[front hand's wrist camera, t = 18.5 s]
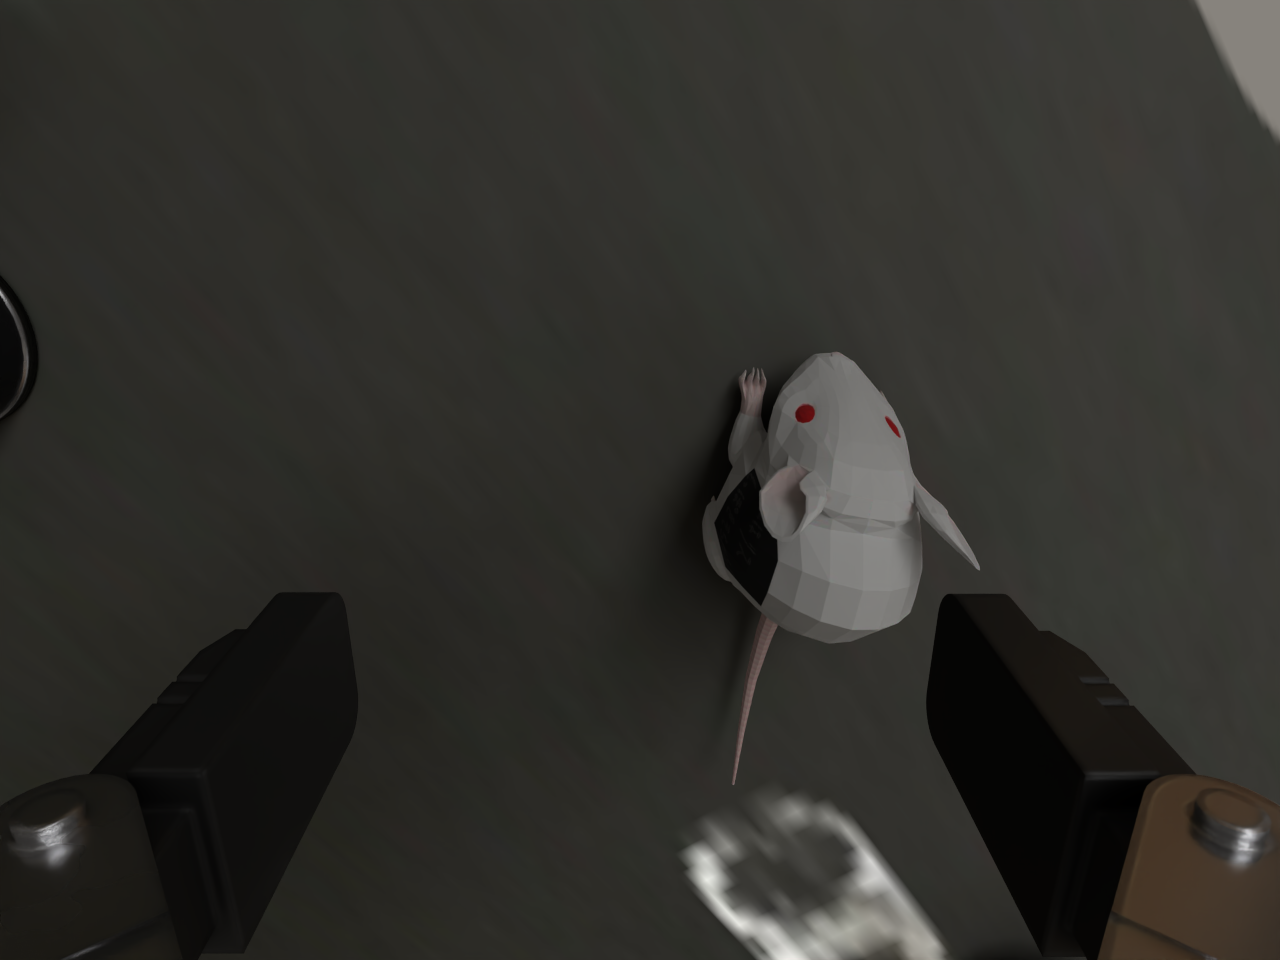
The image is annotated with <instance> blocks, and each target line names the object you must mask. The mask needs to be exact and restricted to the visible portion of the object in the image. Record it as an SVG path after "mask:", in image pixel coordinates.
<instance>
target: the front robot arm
mask: <svg viewBox="0 0 1280 960" xmlns="http://www.w3.org/2000/svg"><path fill="white" fill-rule="evenodd" d="M36 369H37V346H36V341H35V336H34V332H33V329H32V325H31V323H30V320H29V318H28V315H27V313H26V311H25V309H24V307H23V305H22V304H21V302H20V300H19V299H18V297H17V296H16V294H15V293H14V291H13V290H12V289H11V287H10V286H9V285H8V284H7V283H6V281H5V280H4V279H3V278H2V277H1V276H0V420H2V419H4V418H5V417H7V416H9V415H10V414H11V413H13V412H14V411H15V410H16V409H17V408H18V407H19V406H20V405H21V404H22V403H23V401H24V400H25V399H26V397H27V396H28V394H29V392H30V390H31V388H32V385H33V382H34V379H35V375H36ZM926 709H927V719H928V725H929V729H930V733H931V736H932V739H933V741H934V744H935V746H936V748H937V750H938V752H939V754H940V756H941V757H942V759H943V761H944V763H945V765H946V767H947V769H948V771H949V773H950V775H951V777H952V779H953V781H954V783H955V785H956V787H957V789H958V791H959V793H960V795H961V797H962V799H963V801H964V803H965V805H966V807H967V809H968V811H969V813H970V815H971V816H972V818H973V820H974V822H975V824H976V826H977V828H978V830H979V832H980V834H981V836H982V838H983V840H984V842H985V844H986V846H987V848H988V850H989V852H990V854H991V856H992V858H993V860H994V862H995V864H996V866H997V868H998V870H999V872H1000V874H1001V875H1002V877H1003V879H1004V881H1005V883H1006V885H1007V887H1008V889H1009V891H1010V893H1011V895H1012V897H1013V899H1014V901H1015V903H1016V905H1017V907H1018V909H1019V911H1020V913H1021V915H1022V917H1023V919H1024V921H1025V923H1026V925H1027V927H1028V929H1029V931H1030V933H1031V934H1032V936H1033V938H1034V940H1035V942H1036V944H1037V946H1038V948H1039V950H1040V952H1041V954H1042V956H1043V957H1086V958H1087V960H1280V806H1279V805H1277V804H1276V803H1274V802H1272V801H1271V800H1269V799H1267V798H1265V797H1264V796H1262V795H1260V794H1258V793H1255V792H1253V791H1251V790H1249V789H1247V788H1244V787H1242V786H1239V785H1237V784H1234V783H1231V782H1228V781H1224V780H1221V779H1217V778H1213V777H1208V776H1203V775H1197V774H1196V773H1195V772H1194V771H1193V770H1192V769H1191V768H1190V767H1189V766H1188V765H1187V763H1186V762H1185V761H1184V760H1183V759H1182V758H1181V757H1180V756H1179V755H1178V754H1177V753H1176V751H1175V750H1174V749H1173V748H1172V747H1171V746H1170V745H1169V744H1168V743H1167V742H1166V740H1165V739H1164V738H1163V737H1162V736H1161V735H1160V734H1159V733H1158V732H1157V731H1156V730H1155V728H1154V727H1153V726H1152V725H1151V724H1150V723H1149V722H1148V721H1147V720H1146V719H1145V717H1144V716H1143V715H1142V714H1141V713H1140V712H1139V711H1138V710H1137V709H1136V708H1135V707H1134V706H1129V700H1128V699H1127V698H1126V697H1125V696H1124V694H1123V693H1122V692H1121V691H1120V690H1119V689H1118V688H1117V687H1116V686H1115V685H1114V684H1110V683H1109V678H1108V677H1107V676H1106V675H1105V674H1104V673H1103V671H1102V670H1101V669H1100V668H1099V667H1098V666H1097V665H1096V664H1095V663H1094V662H1093V660H1092V659H1091V658H1090V657H1089V656H1088V655H1087V654H1086V653H1085V652H1083V651H1082V650H1080V649H1078V648H1077V647H1075V646H1073V645H1072V644H1070V643H1069V642H1067V641H1065V640H1064V639H1062V638H1060V637H1059V636H1057V635H1055V634H1054V633H1052V632H1051V631H1038V629H1037V628H1036V627H1035V626H1034V625H1033V623H1032V622H1031V621H1030V620H1029V619H1028V618H1027V616H1026V615H1025V614H1024V613H1023V612H1022V611H1021V609H1020V608H1019V607H1018V606H1017V605H1016V604H1015V602H1014V601H1013V600H1012V599H1011V598H1010V597H1009V596H1008V595H1006V594H947V595H946V596H944V598H943V599H942V602H941V604H940V607H939V612H938V619H937V626H936V633H935V639H934V646H933V653H932V660H931V667H930V674H929V681H928V688H927V697H926ZM357 711H358V692H357V684H356V677H355V670H354V663H353V656H352V649H351V642H350V635H349V628H348V621H347V614H346V608H345V604H344V601H343V599H342V597H341V596H340V595H339V594H338V593H336V592H282V593H279V594H277V595H276V596H275V597H274V598H273V599H272V600H271V601H270V602H269V603H268V605H267V606H266V607H265V608H264V609H263V611H262V612H261V613H260V614H259V615H258V616H257V618H256V619H255V620H254V621H253V622H252V624H251V625H250V626H249V627H248V628H247V629H235V630H234V631H232V632H231V633H229V634H227V635H226V636H224V637H222V638H221V639H219V640H217V641H216V642H214V643H213V644H211V645H209V646H208V647H206V648H204V649H203V650H201V651H200V652H199V653H198V654H197V655H196V656H195V657H194V658H193V659H192V661H191V662H190V663H189V664H188V665H187V666H186V667H185V668H184V669H183V671H182V672H181V673H180V674H179V675H178V676H177V681H176V682H172V683H171V684H170V685H169V686H168V687H167V688H166V689H165V690H164V692H163V693H162V694H161V695H160V696H159V697H158V701H157V704H152V705H151V706H150V707H149V708H148V709H147V710H146V711H145V713H144V714H143V715H142V716H141V717H140V718H139V719H138V720H137V721H136V722H135V724H134V725H133V726H132V727H131V728H130V729H129V730H128V731H127V732H126V734H125V735H124V736H123V737H122V738H121V739H120V740H119V741H118V742H117V743H116V745H115V746H114V747H113V748H112V749H111V750H110V751H109V752H108V753H107V755H106V756H105V757H104V758H103V759H102V760H101V761H100V762H99V763H98V765H97V766H96V767H95V768H94V769H93V770H92V771H91V772H90V773H89V774H85V775H77V776H72V777H67V778H63V779H59V780H56V781H52V782H49V783H46V784H43V785H41V786H38V787H36V788H33V789H31V790H29V791H27V792H25V793H22V794H20V795H18V796H16V797H15V798H13V799H11V800H9V801H8V802H6V803H4V804H3V805H1V806H0V960H198V958H199V957H200V955H201V953H244V952H245V950H246V948H247V946H248V944H249V942H250V940H251V938H252V936H253V934H254V932H255V930H256V928H257V926H258V924H259V922H260V920H261V918H262V916H263V914H264V912H265V910H266V908H267V906H268V904H269V902H270V900H271V898H272V896H273V894H274V892H275V890H276V888H277V886H278V884H279V882H280V880H281V878H282V876H283V874H284V872H285V870H286V868H287V866H288V864H289V862H290V860H291V858H292V856H293V854H294V852H295V850H296V848H297V846H298V844H299V842H300V840H301V838H302V836H303V834H304V832H305V830H306V828H307V826H308V824H309V822H310V821H311V819H312V817H313V815H314V813H315V811H316V809H317V807H318V805H319V803H320V801H321V799H322V797H323V795H324V793H325V791H326V789H327V787H328V785H329V783H330V781H331V779H332V777H333V775H334V773H335V771H336V769H337V767H338V765H339V763H340V761H341V759H342V757H343V755H344V753H345V751H346V749H347V747H348V745H349V743H350V741H351V738H352V736H353V733H354V729H355V725H356V719H357Z"/></svg>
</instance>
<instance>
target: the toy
mask: <svg viewBox="0 0 1280 960" xmlns="http://www.w3.org/2000/svg"><path fill="white" fill-rule="evenodd" d="M761 373H762V376H761V381H760V382H759V380H760V378H759V370H758V368H757V373H756V375H755V377H754V368H753V370H752V372H751V373H750V374H749V375H748V377H747V379H746V380H745V376H746V370H745V371H744V372H743V374H742V375H741V376H740V377H739V387H740V390H741V396H742V401H741V408H740V412H739V414H738V416H737V418H736V420H735V423H734V426H733V430H732V433H731V436H730V439H729V445H728V455H729V461H730V462H731V464H732V466H733V468H732V470H731V472H730V474H729V476H728V478H727V480H726V482H725V484H724V486H723V488H722V490H721V492H720V494H719V496H718V499H717V501H716V500H715V497H714V496H713V497H712V499H711V502H710V503H709V504H708V505H707V507H706V510H705V513H704V517H703V521H702V529H703V541H704V546H705V551H706V555H707V557H708V560H709V562H710V563H711V565H712V567H713V569H714V570H715V571H716V573H717V574H718V575H719V576H720V577H722V578H723V579H724V580H727V581H730V582H732V584H733V585H734V586H735V587H736V588H737V589H738V590H739V591H740V592H741V593H742V594H743V595H744V596H745V597H746V598H747V599H748V600H749V601H750V602H751V603H752V604H753V605H754V606H755V607H756V608H757V609H758V610H759V611H760V612H762V614H761V617H760V620H759V623H758V626H757V630H756V634H755V639H754V643H753V647H752V652H751V656H750V660H749V665H748V669H747V673H746V679H745V685H744V692H743V699H742V706H741V713H740V719H739V726H738V735H737V743H736V752H735V761H734V769H733V778H732V784H733V785H734V782H735V777H736V772H737V767H738V762H739V757H740V752H741V747H742V741H743V736H744V731H745V727H746V722H747V718H748V714H749V710H750V705H751V701H752V697H753V693H754V689H755V684H756V680H757V678H758V675H759V672H760V669H761V666H762V664H763V661H764V658H765V655H766V652H767V650H768V647H769V644H770V641H771V639H772V636H773V634H774V632H775V630H776V628H777V626H778V625H779V626H781V627H782V628H784V629H785V630H787V631H790V632H794V633H797V634H800V635H803V636H807V637H810V638H813V639H816V640H819V641H823V642H826V643H838V642H851V641H853V640H856V639H858V638H861V637H864V636H866V635H869V634H871V633H874V632H876V631H879V630H881V629H884V628H887V627H889V626H892V625H894V624H897V623H899V622H900V621H901V620H902V619H903V618H904V617H906V616H907V615H908V614H909V613H910V611H911V608H912V605H913V602H914V600H915V597H916V592H917V588H918V584H919V580H920V576H921V572H922V539H921V528H920V517H919V512H920V513H921V515H922V517H923V518H924V519H925V520H926V521H927V522H928V523H929V524H930V525H931V526H932V527H933V528H934V529H935V530H936V531H937V532H938V533H939V534H940V535H941V536H942V537H943V538H944V539H945V540H946V541H947V542H948V543H949V544H950V545H951V546H952V547H953V548H955V549H956V550H957V551H958V552H959V553H960V554H961V555H962V556H963V557H964V558H966V559H967V560H968V561H969V562H970V563H971V564H972V565H973V566H974V567H975V568H977V569H978V570H980V567H979V564H978V562H977V560H976V558H975V556H974V554H973V552H972V550H971V549H970V547H969V545H968V544H967V542H966V540H965V539H964V537H963V535H962V534H961V532H960V531H959V529H958V528H957V526H956V525H955V523H954V522H953V520H952V519H951V518H950V517H949V515H948V511H947V510H946V509H945V508H944V507H943V505H942V504H941V503H939V502H938V501H937V500H936V499H934V498H933V497H932V496H931V495H930V494H929V493H928V492H927V491H926V490H925V489H924V488H923V487H922V486H921V485H920V483H919V482H918V480H917V479H916V477H915V476H914V474H913V471H912V468H911V465H910V458H909V452H908V447H907V442H906V438H905V434H904V431H903V429H902V427H901V425H900V423H899V421H898V419H897V417H896V415H895V413H894V410H893V408H892V407H891V406H890V405H889V403H888V402H887V400H886V398H885V396H884V395H883V393H882V392H881V390H880V392H881V394H880V392H879V391H878V390H877V389H876V388H875V386H874V385H873V384H872V383H871V381H870V380H869V379H868V378H867V377H866V376H865V374H864V373H863V372H862V371H861V370H860V368H859V367H858V366H857V365H856V364H855V362H853V361H852V360H850V359H849V358H847V357H845V356H844V355H842V354H841V353H838V352H832V353H821V354H815V355H812V356H811V357H809V358H808V359H807V360H805V361H804V362H803V363H802V364H801V365H800V366H799V367H798V368H797V370H796V371H795V372H794V373H793V375H792V376H791V377H790V378H789V379H788V381H787V382H786V383H785V384H784V385H783V387H782V389H781V390H780V392H779V395H778V397H777V400H776V402H775V405H774V407H773V411H772V415H771V418H770V421H769V427H768V433H767V432H766V430H765V429H764V426H763V422H762V418H761V410H762V401H763V395H764V391H765V388H766V378H765V377H764V373H763V370H762V368H761ZM753 377H754V380H753ZM744 380H745V381H744ZM918 510H919V512H918Z"/></svg>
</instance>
